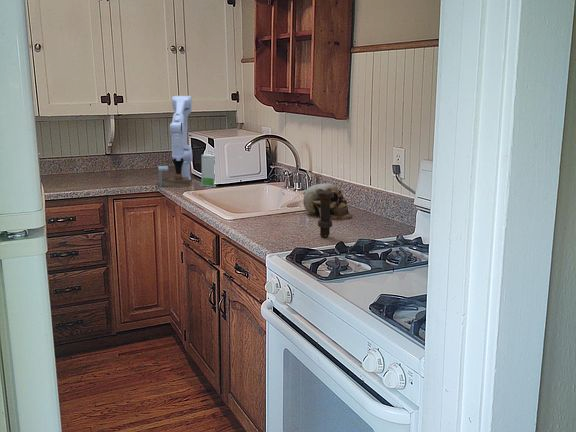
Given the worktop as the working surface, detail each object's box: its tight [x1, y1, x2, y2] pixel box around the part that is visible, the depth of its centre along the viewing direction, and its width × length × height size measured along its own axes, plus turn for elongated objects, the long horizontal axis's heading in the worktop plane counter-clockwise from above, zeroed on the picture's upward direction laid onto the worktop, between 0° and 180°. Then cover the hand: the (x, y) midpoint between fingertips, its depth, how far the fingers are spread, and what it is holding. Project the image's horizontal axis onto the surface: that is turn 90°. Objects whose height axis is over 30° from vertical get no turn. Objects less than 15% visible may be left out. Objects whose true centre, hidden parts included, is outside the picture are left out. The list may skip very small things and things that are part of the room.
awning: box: [157, 165, 169, 188], centre depth 299 cm, size 11×5×9 cm, turn 12°
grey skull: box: [302, 182, 352, 221], centre depth 230 cm, size 16×17×13 cm
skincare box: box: [201, 153, 217, 188], centre depth 297 cm, size 8×7×16 cm
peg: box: [175, 170, 182, 179], centre depth 300 cm, size 3×3×8 cm
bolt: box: [317, 191, 334, 239], centre depth 196 cm, size 6×5×15 cm
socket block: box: [162, 176, 190, 188], centre depth 301 cm, size 10×13×3 cm
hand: (178, 173), depth 301 cm, fingers closed on peg, 3 cm apart
